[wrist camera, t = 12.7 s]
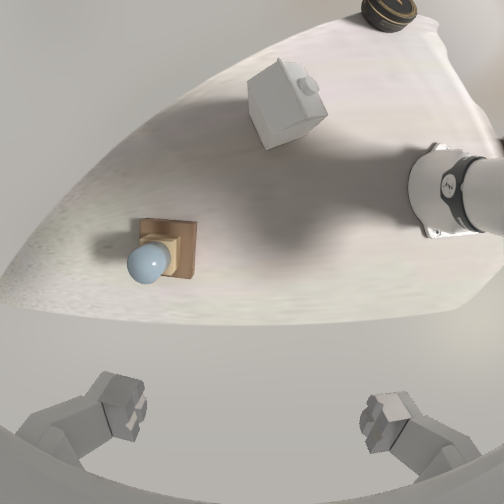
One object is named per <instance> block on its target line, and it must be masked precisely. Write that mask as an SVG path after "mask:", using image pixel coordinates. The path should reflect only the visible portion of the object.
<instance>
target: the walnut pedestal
mask: <svg viewBox="0 0 504 504" xmlns="http://www.w3.org/2000/svg"><path fill="white" fill-rule="evenodd" d="M196 231H197V222H192V221H180V220H167V219H154V218H145V219H142V220H140V239H141V238H143V237H145V236H147V235H149V234H151V233H155V234H166V235H177V236H180V259H179V267H178V268H177V269H176V270H175V272H174V273H173V274H172V275H171V276H170V275H162V274H161V275H160V276H168V277H176V278H185V279H191V278H192V276H193V275H194V267H195V247H196Z"/></svg>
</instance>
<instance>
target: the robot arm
mask: <svg viewBox="0 0 504 504" xmlns="http://www.w3.org/2000/svg"><path fill="white" fill-rule="evenodd" d="M408 193H409V199H410V203H411V206H412V208H413V211H414V212H415V214H416V216H417V217H418V218H419V219H420V221H421V222H422V223H423V225H424V229H425V232H426V235H427V236H428V237H429V238H433V239H434V238H444V237H454V236H464V235H474V234H477V233H484V232H489V233H492V234H495V235H499V236H502V237H504V157H502V158H493V159H487V158H485V157H479V156H471V154H469V153H465V152H464V150H461V149H451V148H449V147H448V146H446V145H444V144H443V143H437V144H436V145H435V146H434V147H433V149H432V150H431V151H430V152H429V153H427V154H425V155H423V156H422V157H420V158H419V159H418V160H417V161H416V163H415V164H414V166H413V168H412V170H411V173H410V177H409V183H408ZM436 231H437V233H436ZM144 389H145V388H144V383H143V381H141V380H138V379H134V378H130V377H126V376H122V375H118V374H114V373H110V372H107V371H104V372H102V373H101V374H100V375H99V377H98V378H97V380H96V381H95V383H94V384H93V385H92V386H91V388H90V389H89V391H88V392H87V393H86V395H85V396H78V397H76V398H73V399H71V400H68V401H65V402H63V403H60V404H58V405H55V406H52V407H50V408H47V409H44V410H41V411H38V412H35V413H32V414H31V415H30V416H29V417H28V418H27V420H26V421H25V422H24V423H23V425H22V426H21V427H20V428H19V430H18V431H17V432H16V433H15V434H13V433H12V432H10V431H8V430H7V429H5V428H4V427H2V426H1V425H0V504H217V503H208V502H201V501H194V500H187V499H182V498H176V497H172V496H167V495H162V494H158V493H153V492H149V491H145V490H142V489H138V488H134V487H131V486H127V485H124V484H121V483H117V482H115V481H112V480H109V479H106V478H103V477H100V476H98V475H95V474H92V473H90V472H87V471H85V469H84V468H83V466H82V464H81V463H80V461H79V459H80V458H82V457H83V456H85V455H86V454H88V453H90V452H91V451H93V450H94V449H96V448H98V447H99V446H101V445H102V444H104V443H105V442H107V441H108V440H109V439H111V438H112V436H113V437H117V438H120V439H124V440H128V441H132V442H135V440H136V437H137V435H138V432H139V430H140V428H139V423H141V422H142V421H143V420H144V418H145V415H146V409H147V401H146V397H145V396H144V395H143V391H144ZM367 405H368V407H367V408H366V409H365V410H364V411H363V412H362V414H361V416H360V423H359V424H360V429H361V432H362V434H364V435H365V436H366V437H367V439H366V441H365V442H366V445H367V447H368V450H369V452H370V454H372V453H378V452H385V451H389V452H390V453H392V454H393V455H394V456H395V457H396V458H398V459H399V460H400V461H401V462H403V463H404V464H405V465H406V466H407V467H409V468H410V469H411V470H413V471H414V472H415V473H417V474H418V475H419V477H418V478H417V480H416V481H415V482H414V483H413V484H412V485H408V486H405V487H401V488H398V489H394V490H391V491H387V492H383V493H378V494H375V495H370V496H365V497H360V498H354V499H348V500H342V501H335V502H328V503H319V504H504V444H502V445H501V446H499V447H497V448H495V449H494V450H492V451H490V452H488V453H486V454H484V455H481V453H480V452H479V450H478V449H477V447H476V446H475V445H474V443H473V442H472V440H471V439H470V437H468V436H466V435H464V434H462V433H460V432H458V431H456V430H454V429H452V428H450V427H448V426H446V425H444V424H442V423H440V422H438V421H436V420H434V419H432V418H430V417H428V416H423V415H422V413H421V412H420V410H419V409H418V407H417V406H416V404H415V403H414V401H413V400H412V398H411V397H410V395H409V394H408V392H406V391H401V392H394V393H386V394H377V395H371V396H370V397H369V398H368V401H367Z"/></svg>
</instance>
